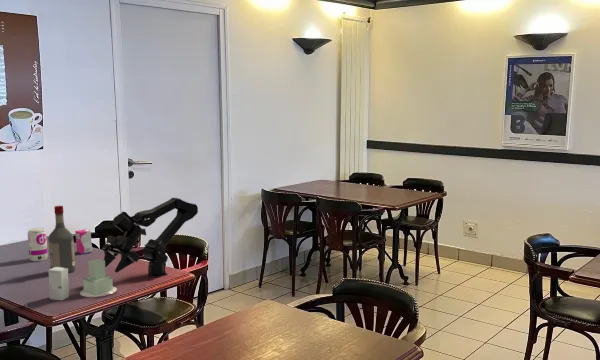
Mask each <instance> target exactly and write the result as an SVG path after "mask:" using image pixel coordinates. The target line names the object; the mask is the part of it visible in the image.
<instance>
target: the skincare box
mask: <svg viewBox="0 0 600 360" xmlns="http://www.w3.org/2000/svg"><path fill="white" fill-rule="evenodd" d="M68 282H69V273H68V268H62V267H54V268H52V269H51V268H50V269H48V290H49V291H48V292H49V299H50V300H56V301H63V300H66V299H67V298H70V291H69V287H70V286H69V285H70V284H69V283H68Z"/></svg>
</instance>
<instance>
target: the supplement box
mask: <svg viewBox="0 0 600 360" xmlns="http://www.w3.org/2000/svg"><path fill="white" fill-rule="evenodd" d="M74 233H75V243H76V253H78V254H79V255H81V256H82V255H86V254H92V253H93V246H92V244H93V243H92V236H91V235H92V233H91V230H90V229H87V228H86V229H85V228H84V229H79V230H75V231H74ZM91 252H92V253H91Z"/></svg>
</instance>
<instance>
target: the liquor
mask: <svg viewBox="0 0 600 360" xmlns="http://www.w3.org/2000/svg"><path fill="white" fill-rule="evenodd" d="M53 209H54V215H55V225H54V226H55V228H54V229H53V230H52V231H51V232H50V234H49V235H48V251H49V253H48V255H49V266H50V269H52V268H54V267H62V268H68V274H72V273H74V272H75V271H76V257H75V244H74V243H75V241H74V236H73V233H72V232H71V231H70V230H68V228H66V226H65V220H64V219H65V218H64V205H55V206H54V208H53Z"/></svg>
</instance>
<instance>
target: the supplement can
mask: <svg viewBox="0 0 600 360" xmlns="http://www.w3.org/2000/svg"><path fill="white" fill-rule="evenodd" d="M27 245H28V256H29V260H30V261H31V262H42V261H45V260H47V259H48V258H49V253H48V242H47V232H46V230H45V228H43V227H34V228H30V229H28V230H27Z"/></svg>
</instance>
